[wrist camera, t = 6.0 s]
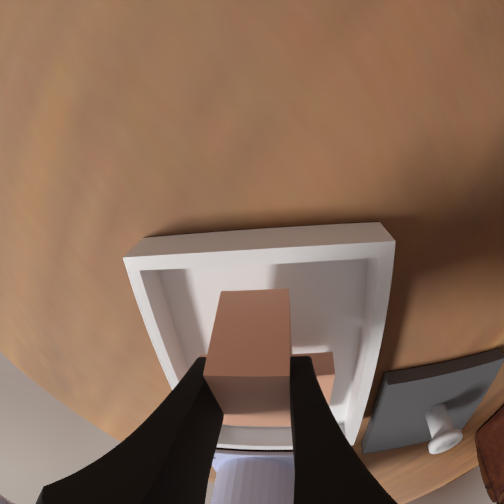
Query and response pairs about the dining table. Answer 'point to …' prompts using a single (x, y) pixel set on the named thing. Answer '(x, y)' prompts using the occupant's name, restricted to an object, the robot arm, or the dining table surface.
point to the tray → (272, 277)
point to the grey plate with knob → (430, 403)
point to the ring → (256, 358)
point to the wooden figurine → (492, 455)
